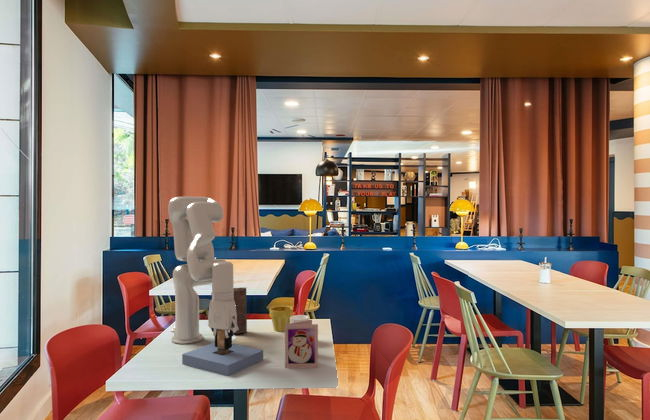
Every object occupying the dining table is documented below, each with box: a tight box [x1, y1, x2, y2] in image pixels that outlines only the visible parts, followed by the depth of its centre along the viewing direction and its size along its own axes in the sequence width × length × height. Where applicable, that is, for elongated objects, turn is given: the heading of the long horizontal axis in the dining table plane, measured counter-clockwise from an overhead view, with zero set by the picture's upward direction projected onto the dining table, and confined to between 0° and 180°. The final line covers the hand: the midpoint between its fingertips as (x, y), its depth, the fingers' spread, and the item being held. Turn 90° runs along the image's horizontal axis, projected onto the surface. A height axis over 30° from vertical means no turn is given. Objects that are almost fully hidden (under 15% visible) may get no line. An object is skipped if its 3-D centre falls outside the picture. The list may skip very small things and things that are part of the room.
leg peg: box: [217, 329, 229, 356], centre depth 159 cm, size 4×4×12 cm
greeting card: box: [284, 319, 319, 369], centre depth 156 cm, size 11×7×15 cm, turn 91°
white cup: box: [290, 314, 310, 324], centre depth 184 cm, size 8×8×10 cm
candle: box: [233, 287, 248, 334], centre depth 196 cm, size 8×7×20 cm
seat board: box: [181, 341, 264, 377], centre depth 160 cm, size 22×18×4 cm
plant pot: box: [269, 305, 294, 333], centre depth 201 cm, size 10×10×10 cm
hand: (223, 346), depth 159 cm, fingers closed on leg peg, 4 cm apart
